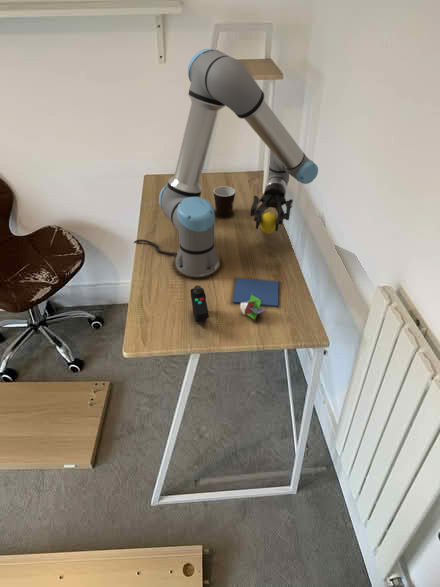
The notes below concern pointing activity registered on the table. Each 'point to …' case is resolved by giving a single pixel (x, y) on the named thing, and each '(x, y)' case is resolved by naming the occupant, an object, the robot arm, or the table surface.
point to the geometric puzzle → (252, 307)
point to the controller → (199, 304)
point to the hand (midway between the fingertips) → (266, 226)
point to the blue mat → (256, 291)
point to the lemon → (268, 222)
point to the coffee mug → (224, 200)
